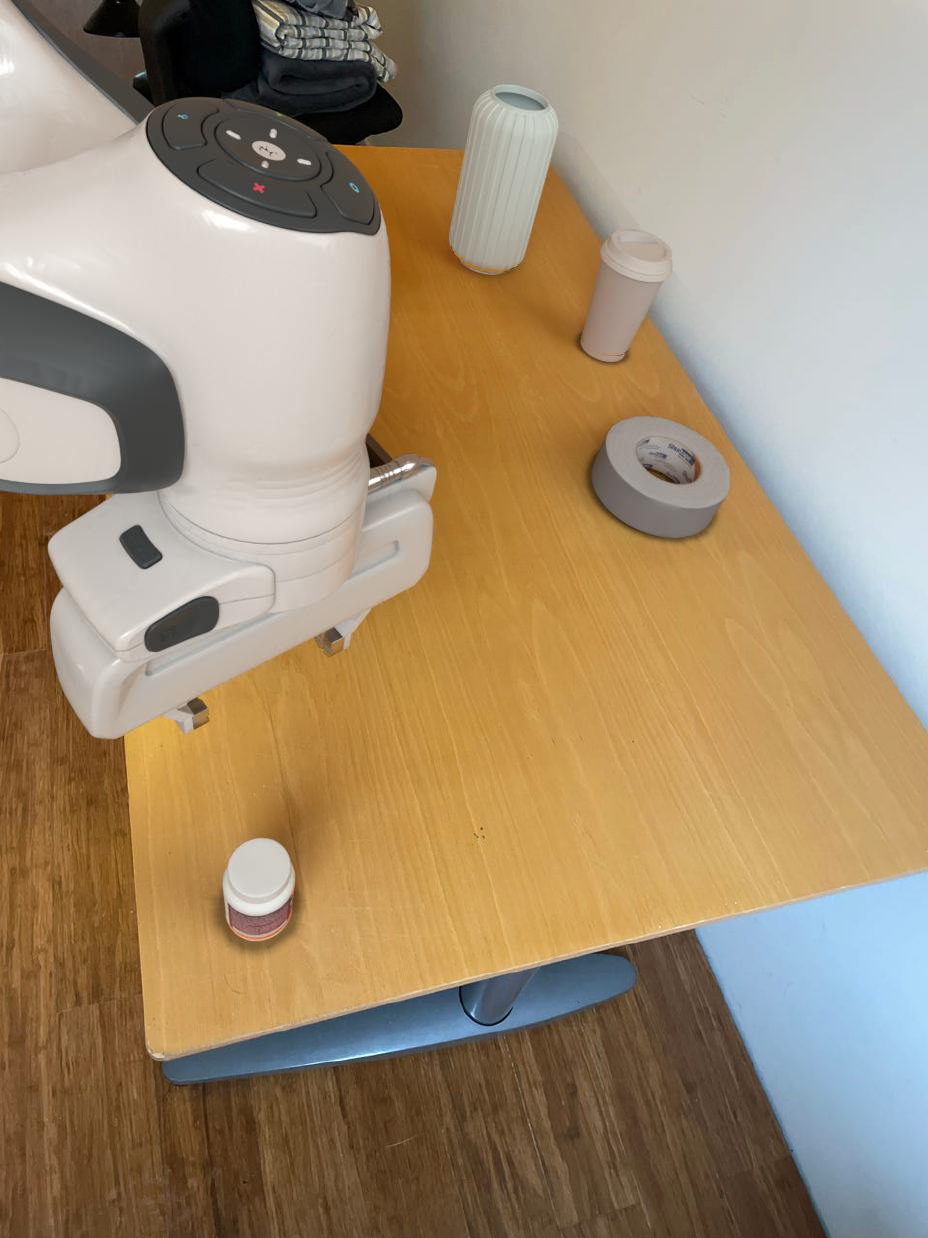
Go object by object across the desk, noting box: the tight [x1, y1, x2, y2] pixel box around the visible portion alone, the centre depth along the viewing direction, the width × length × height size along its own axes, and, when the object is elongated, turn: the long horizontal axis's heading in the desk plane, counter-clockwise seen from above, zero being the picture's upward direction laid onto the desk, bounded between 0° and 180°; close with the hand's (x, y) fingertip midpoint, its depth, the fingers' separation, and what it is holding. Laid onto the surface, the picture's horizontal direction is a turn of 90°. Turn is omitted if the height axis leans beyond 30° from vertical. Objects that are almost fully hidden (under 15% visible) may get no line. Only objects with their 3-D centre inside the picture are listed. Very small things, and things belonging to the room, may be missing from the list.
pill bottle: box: [221, 837, 296, 942], centre depth 56 cm, size 5×5×8 cm
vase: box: [448, 83, 560, 276], centre depth 113 cm, size 12×12×22 cm
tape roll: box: [590, 415, 731, 539], centre depth 95 cm, size 15×15×5 cm
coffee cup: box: [580, 227, 673, 363], centre depth 108 cm, size 10×10×15 cm
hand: (264, 680), depth 48 cm, fingers open, 8 cm apart
